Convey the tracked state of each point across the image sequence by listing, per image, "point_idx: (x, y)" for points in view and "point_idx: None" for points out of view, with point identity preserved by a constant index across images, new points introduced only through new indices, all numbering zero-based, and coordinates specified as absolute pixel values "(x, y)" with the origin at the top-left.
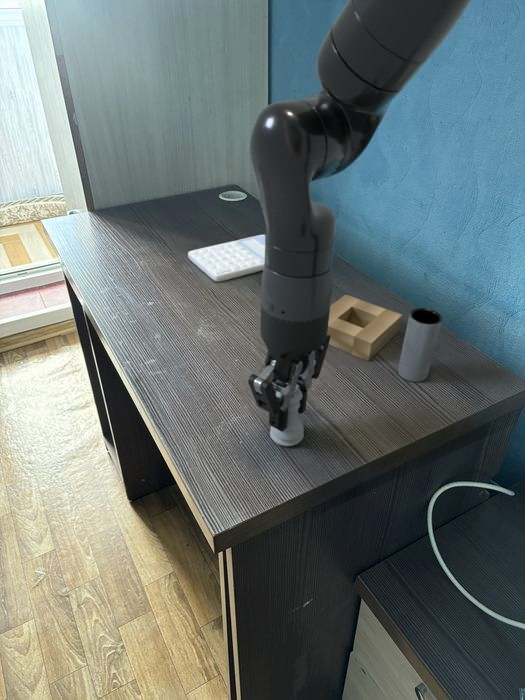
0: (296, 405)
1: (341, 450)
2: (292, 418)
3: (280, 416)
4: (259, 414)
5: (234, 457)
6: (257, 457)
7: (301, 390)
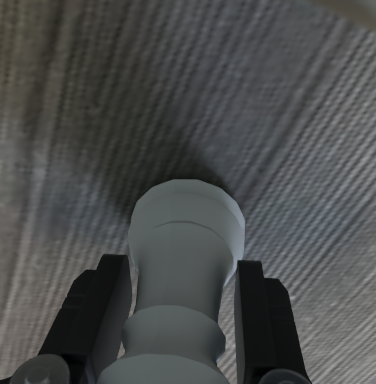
0: (171, 326)
1: (110, 33)
2: (198, 276)
3: (283, 340)
4: None
5: (354, 282)
6: (321, 239)
7: (85, 368)
